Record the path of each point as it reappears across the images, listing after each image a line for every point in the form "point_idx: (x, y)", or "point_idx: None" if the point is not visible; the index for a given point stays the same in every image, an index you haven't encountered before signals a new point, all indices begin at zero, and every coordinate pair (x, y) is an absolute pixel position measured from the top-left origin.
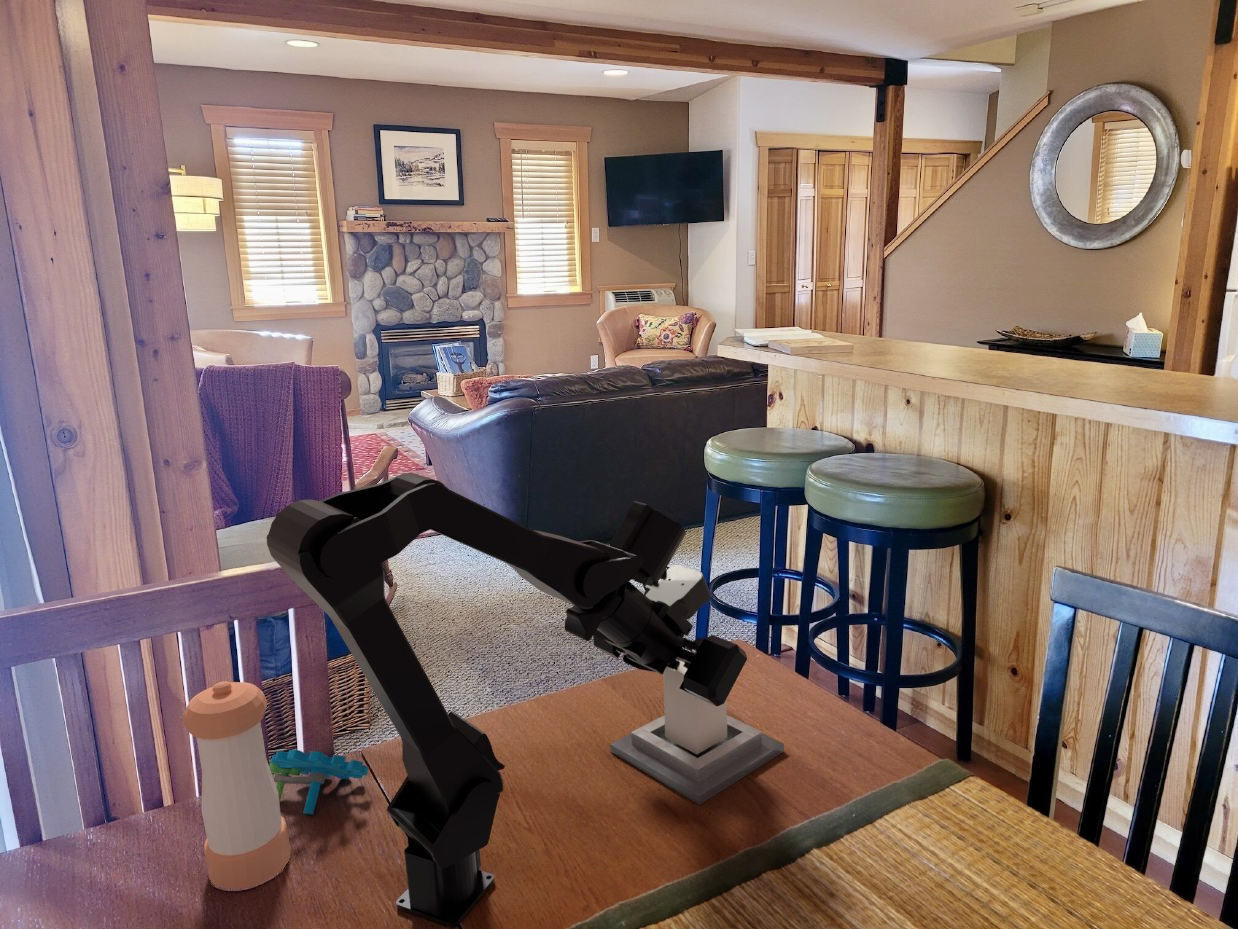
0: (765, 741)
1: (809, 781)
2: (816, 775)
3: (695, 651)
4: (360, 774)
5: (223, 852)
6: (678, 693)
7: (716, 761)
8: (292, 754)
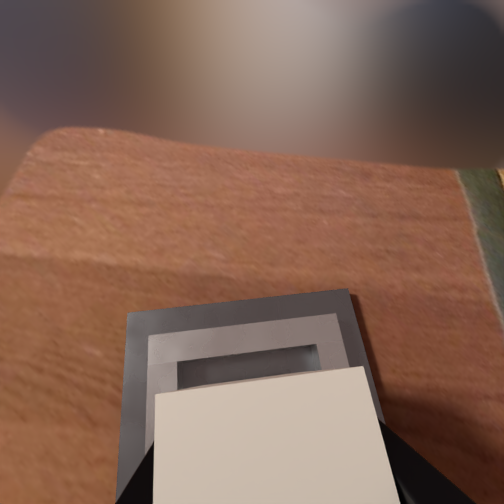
0: (325, 307)
1: (430, 321)
2: (420, 300)
3: (166, 393)
4: None
5: None
6: None
7: None
8: None
